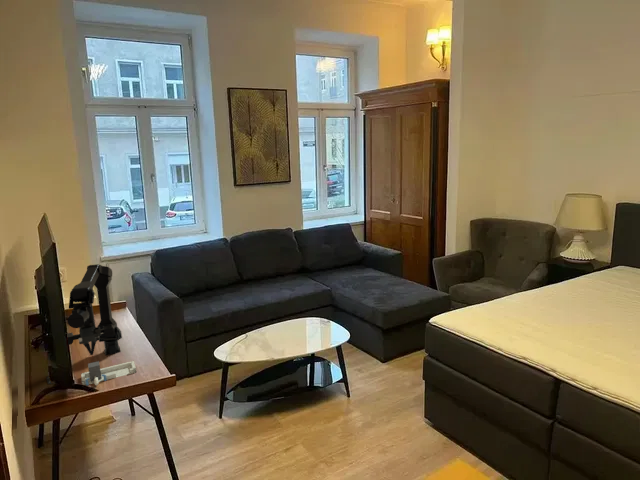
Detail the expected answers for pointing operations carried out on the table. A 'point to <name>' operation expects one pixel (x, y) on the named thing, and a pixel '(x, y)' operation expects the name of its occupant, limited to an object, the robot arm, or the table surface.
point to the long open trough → (111, 372)
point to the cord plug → (94, 372)
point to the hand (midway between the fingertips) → (91, 354)
